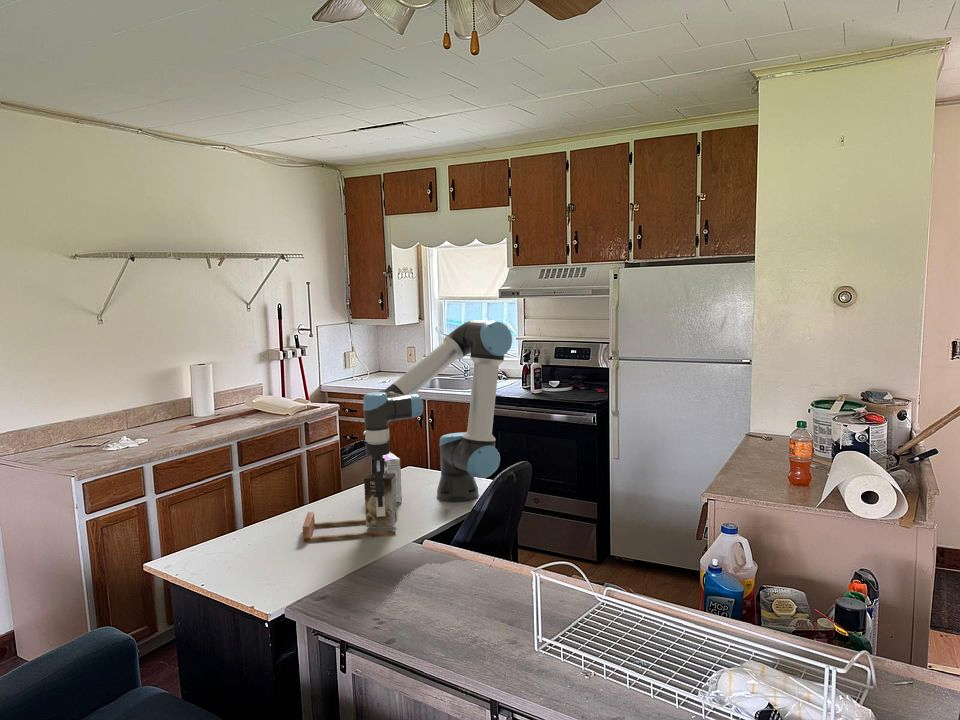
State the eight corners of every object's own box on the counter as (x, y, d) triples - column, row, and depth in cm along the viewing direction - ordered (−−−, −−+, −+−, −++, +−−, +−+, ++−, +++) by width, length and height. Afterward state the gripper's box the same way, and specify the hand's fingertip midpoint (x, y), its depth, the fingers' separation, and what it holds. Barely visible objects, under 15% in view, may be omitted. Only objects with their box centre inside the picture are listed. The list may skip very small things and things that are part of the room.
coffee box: (365, 527, 213) (362, 478, 211) (370, 520, 219) (367, 472, 218) (393, 527, 212) (391, 478, 210) (398, 520, 218) (395, 472, 217)
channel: (395, 520, 223) (394, 505, 222) (395, 535, 210) (394, 519, 209) (308, 527, 219) (307, 512, 219) (303, 542, 206) (302, 526, 206)
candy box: (375, 495, 251) (373, 452, 249) (391, 492, 253) (388, 449, 251) (386, 505, 238) (384, 460, 236) (402, 503, 241) (400, 458, 239)
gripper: (366, 435, 222) (370, 502, 225) (364, 450, 202) (368, 523, 205) (389, 433, 223) (392, 501, 226) (389, 448, 203) (393, 521, 206)
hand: (381, 511), depth 215 cm, fingers closed on coffee box, 7 cm apart
